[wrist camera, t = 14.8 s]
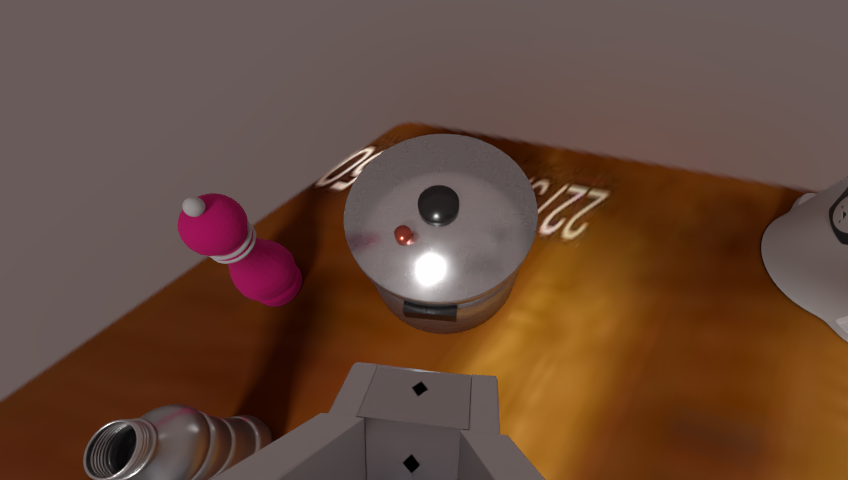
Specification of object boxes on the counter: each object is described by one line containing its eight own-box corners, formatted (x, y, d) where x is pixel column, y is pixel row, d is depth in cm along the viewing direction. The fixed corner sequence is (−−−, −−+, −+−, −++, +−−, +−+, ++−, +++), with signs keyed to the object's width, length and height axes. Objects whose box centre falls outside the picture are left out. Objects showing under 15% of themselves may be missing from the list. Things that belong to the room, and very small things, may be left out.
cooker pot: (517, 192, 57) (530, 132, 46) (514, 350, 47) (529, 321, 37) (388, 185, 59) (372, 127, 48) (361, 335, 50) (333, 304, 39)
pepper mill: (274, 249, 56) (186, 156, 38) (317, 272, 54) (246, 184, 36) (240, 295, 53) (129, 218, 36) (284, 320, 51) (189, 252, 33)
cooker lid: (535, 146, 45) (539, 129, 43) (535, 315, 37) (540, 306, 34) (365, 139, 48) (360, 123, 45) (329, 297, 39) (321, 287, 37)
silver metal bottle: (208, 446, 45) (46, 445, 28) (261, 403, 47) (139, 375, 29) (236, 499, 43) (77, 535, 25) (291, 451, 45) (177, 453, 27)
